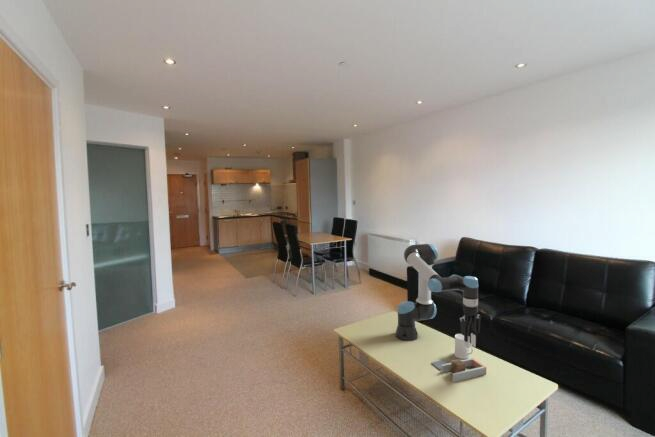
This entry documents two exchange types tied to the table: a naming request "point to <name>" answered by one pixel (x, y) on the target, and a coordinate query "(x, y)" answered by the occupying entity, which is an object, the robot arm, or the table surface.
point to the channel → (473, 371)
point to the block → (457, 366)
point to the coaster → (438, 364)
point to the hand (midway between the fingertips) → (470, 346)
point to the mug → (461, 347)
